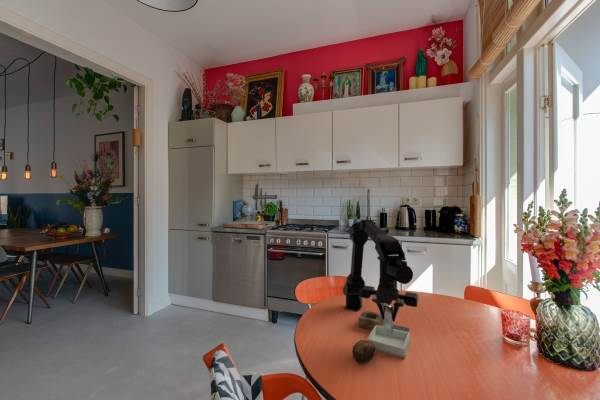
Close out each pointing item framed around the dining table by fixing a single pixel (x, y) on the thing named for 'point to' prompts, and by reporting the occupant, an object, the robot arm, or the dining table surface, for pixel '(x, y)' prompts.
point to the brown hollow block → (370, 320)
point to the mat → (401, 328)
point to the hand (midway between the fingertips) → (388, 320)
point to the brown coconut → (363, 351)
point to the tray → (390, 341)
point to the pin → (388, 319)
